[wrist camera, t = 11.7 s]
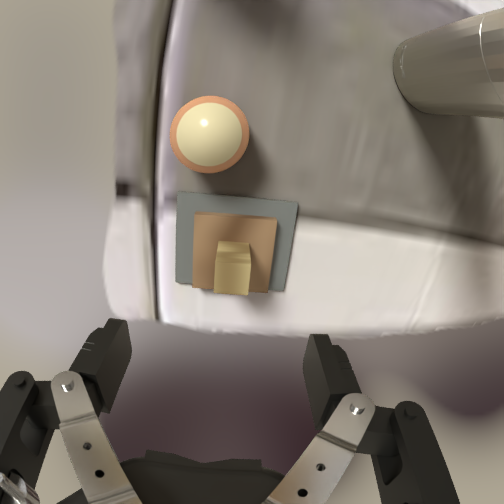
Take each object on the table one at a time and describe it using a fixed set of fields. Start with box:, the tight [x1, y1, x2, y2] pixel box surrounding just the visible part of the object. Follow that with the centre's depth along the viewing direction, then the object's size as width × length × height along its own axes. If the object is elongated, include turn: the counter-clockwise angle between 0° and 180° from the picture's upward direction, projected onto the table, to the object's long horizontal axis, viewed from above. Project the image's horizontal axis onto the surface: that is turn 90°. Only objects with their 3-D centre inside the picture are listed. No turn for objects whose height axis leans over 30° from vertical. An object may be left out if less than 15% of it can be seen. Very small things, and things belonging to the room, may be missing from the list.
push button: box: [170, 96, 249, 173], centre depth 26 cm, size 7×7×5 cm
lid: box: [192, 211, 277, 295], centre depth 29 cm, size 8×8×6 cm
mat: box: [176, 191, 298, 291], centre depth 32 cm, size 12×10×1 cm
